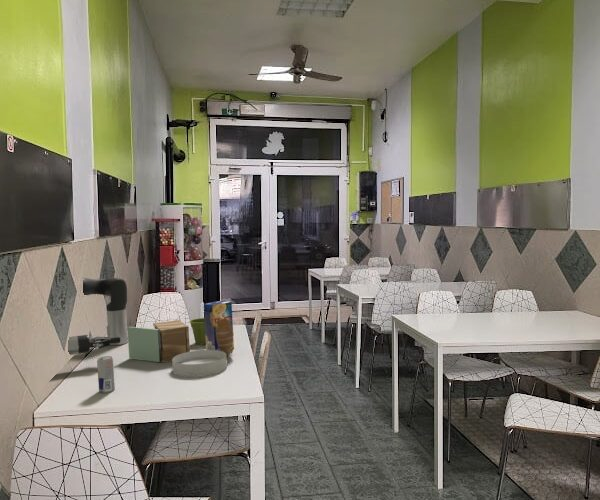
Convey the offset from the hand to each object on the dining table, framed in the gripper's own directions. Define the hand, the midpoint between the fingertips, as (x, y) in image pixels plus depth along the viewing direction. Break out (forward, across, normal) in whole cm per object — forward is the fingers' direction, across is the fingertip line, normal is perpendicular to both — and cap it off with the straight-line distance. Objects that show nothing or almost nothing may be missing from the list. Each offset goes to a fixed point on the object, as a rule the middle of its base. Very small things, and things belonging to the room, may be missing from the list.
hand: (120, 339), depth 221 cm
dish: (+27, +29, -10) cm, 41 cm away
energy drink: (-10, +38, -10) cm, 40 cm away
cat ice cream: (+42, +18, -10) cm, 46 cm away
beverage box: (+43, +6, -10) cm, 44 cm away
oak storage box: (+22, +2, -10) cm, 24 cm away
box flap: (+10, +4, -10) cm, 14 cm away
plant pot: (+40, -14, -10) cm, 44 cm away
